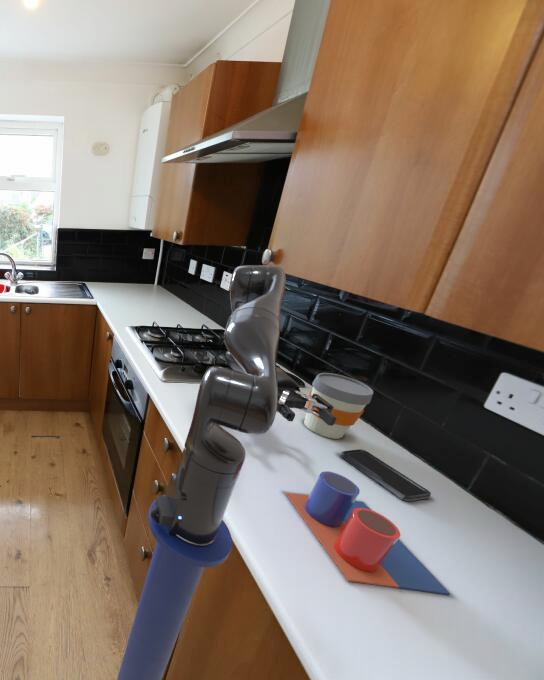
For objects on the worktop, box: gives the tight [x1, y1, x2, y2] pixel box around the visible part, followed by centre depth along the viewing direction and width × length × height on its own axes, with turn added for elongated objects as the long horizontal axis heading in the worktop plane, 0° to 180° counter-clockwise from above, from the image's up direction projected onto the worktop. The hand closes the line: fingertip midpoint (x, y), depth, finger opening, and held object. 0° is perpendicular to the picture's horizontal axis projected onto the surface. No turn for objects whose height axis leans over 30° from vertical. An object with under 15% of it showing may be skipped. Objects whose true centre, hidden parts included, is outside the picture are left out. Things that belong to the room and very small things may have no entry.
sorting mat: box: [285, 492, 451, 596], centre depth 68 cm, size 16×19×1 cm
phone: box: [339, 448, 432, 502], centre depth 84 cm, size 8×1×15 cm
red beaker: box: [334, 508, 401, 572], centre depth 62 cm, size 6×6×8 cm
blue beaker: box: [304, 470, 361, 527], centre depth 70 cm, size 6×6×8 cm
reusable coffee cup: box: [303, 372, 374, 440], centre depth 98 cm, size 13×13×15 cm
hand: (312, 420), depth 77 cm, fingers open, 8 cm apart
